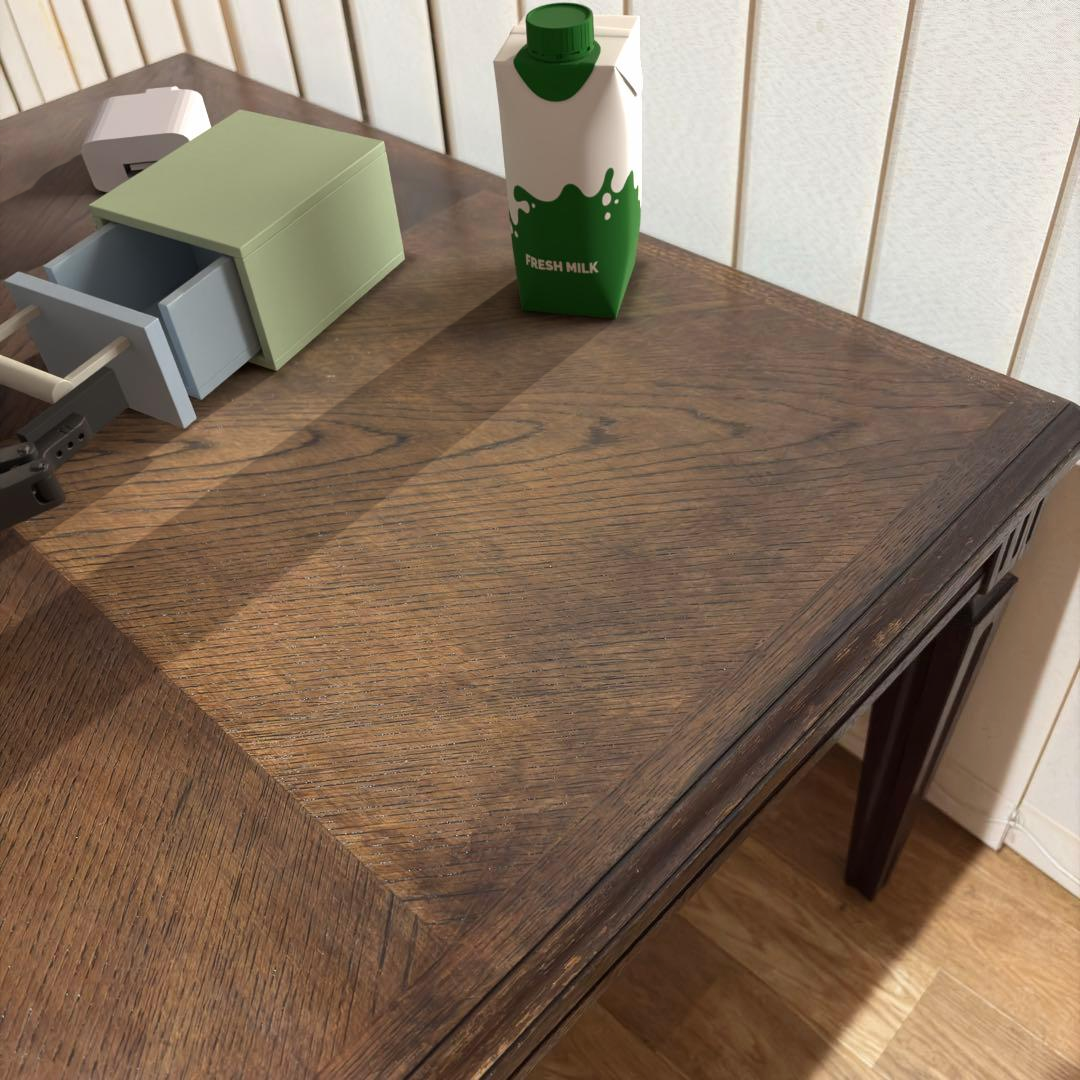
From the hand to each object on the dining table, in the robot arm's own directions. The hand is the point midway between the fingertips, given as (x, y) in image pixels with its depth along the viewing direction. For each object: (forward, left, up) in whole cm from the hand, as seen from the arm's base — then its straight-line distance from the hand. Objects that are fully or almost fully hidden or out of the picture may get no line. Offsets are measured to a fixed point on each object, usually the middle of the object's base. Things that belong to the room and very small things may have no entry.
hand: (37, 355), depth 64 cm
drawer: (0, +8, -6) cm, 10 cm away
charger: (-25, +33, -7) cm, 42 cm away
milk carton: (+21, +29, -7) cm, 37 cm away
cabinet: (0, +19, -7) cm, 21 cm away
